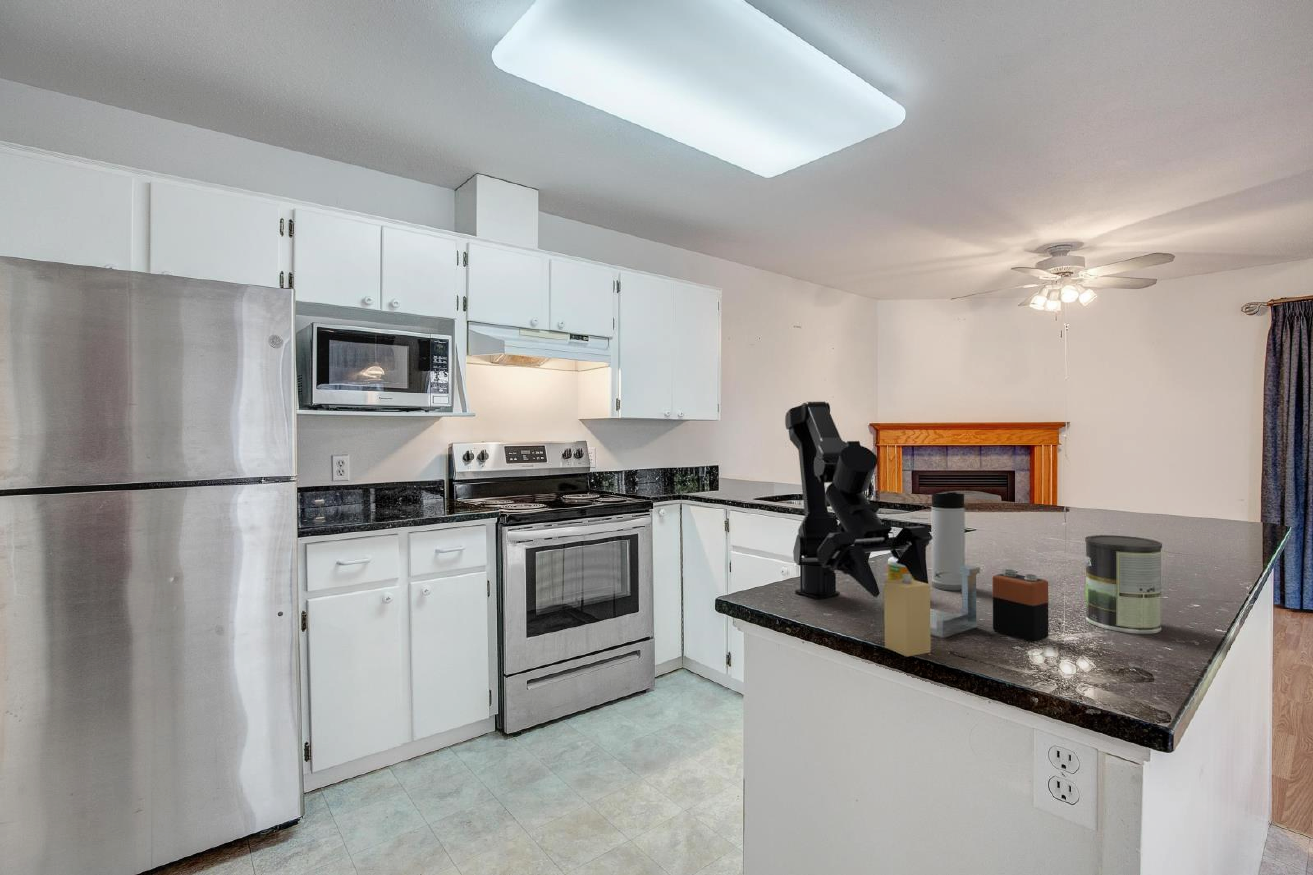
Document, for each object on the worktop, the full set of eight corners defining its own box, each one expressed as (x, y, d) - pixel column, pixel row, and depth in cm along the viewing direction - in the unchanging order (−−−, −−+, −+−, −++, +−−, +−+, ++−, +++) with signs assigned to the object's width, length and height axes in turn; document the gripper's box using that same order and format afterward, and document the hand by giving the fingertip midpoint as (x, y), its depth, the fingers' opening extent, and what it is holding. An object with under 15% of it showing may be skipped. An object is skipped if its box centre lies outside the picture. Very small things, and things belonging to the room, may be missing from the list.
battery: (1007, 627, 105) (1007, 566, 105) (1049, 638, 99) (1049, 574, 99) (991, 631, 103) (991, 569, 103) (1033, 643, 97) (1032, 577, 97)
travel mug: (936, 590, 128) (936, 492, 128) (928, 583, 135) (927, 489, 135) (969, 591, 127) (969, 492, 127) (959, 584, 134) (959, 489, 134)
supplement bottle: (884, 597, 124) (884, 548, 123) (891, 591, 128) (891, 544, 128) (913, 601, 121) (913, 550, 120) (919, 595, 125) (919, 546, 125)
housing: (884, 646, 96) (884, 573, 96) (908, 643, 97) (907, 570, 97) (906, 656, 92) (905, 579, 91) (930, 652, 93) (930, 576, 93)
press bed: (893, 623, 107) (892, 564, 107) (927, 614, 112) (927, 558, 112) (945, 638, 99) (945, 575, 99) (980, 627, 104) (979, 567, 104)
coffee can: (1078, 625, 105) (1078, 540, 105) (1093, 612, 113) (1092, 533, 112) (1157, 638, 98) (1156, 548, 98) (1166, 624, 105) (1166, 539, 105)
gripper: (875, 536, 113) (922, 613, 103) (786, 543, 107) (827, 627, 96) (907, 496, 106) (961, 575, 96) (813, 501, 99) (860, 587, 89)
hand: (902, 592), depth 94 cm, fingers open, 9 cm apart
